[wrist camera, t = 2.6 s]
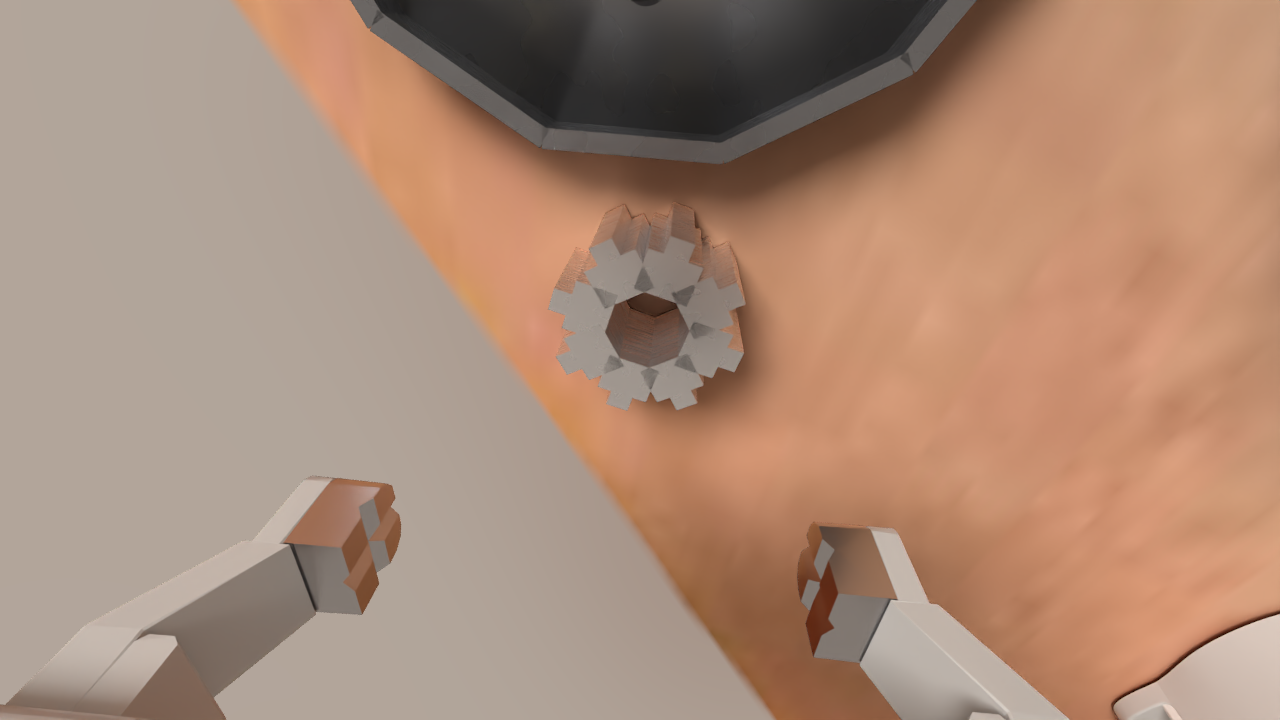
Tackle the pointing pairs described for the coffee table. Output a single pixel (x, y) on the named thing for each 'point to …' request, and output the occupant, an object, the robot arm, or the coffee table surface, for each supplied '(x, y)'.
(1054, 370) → the coffee table surface
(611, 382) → the planet gear
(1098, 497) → the coffee table surface
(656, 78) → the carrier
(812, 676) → the coffee table surface
